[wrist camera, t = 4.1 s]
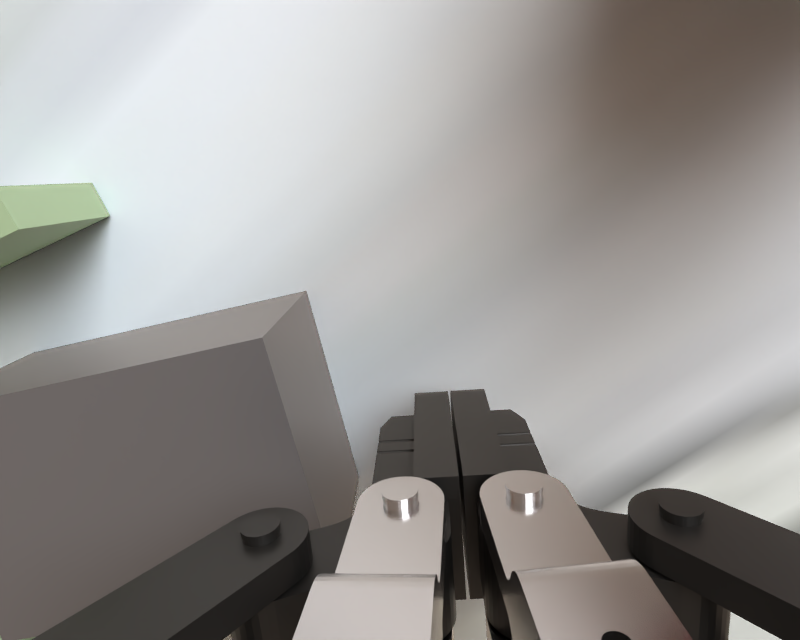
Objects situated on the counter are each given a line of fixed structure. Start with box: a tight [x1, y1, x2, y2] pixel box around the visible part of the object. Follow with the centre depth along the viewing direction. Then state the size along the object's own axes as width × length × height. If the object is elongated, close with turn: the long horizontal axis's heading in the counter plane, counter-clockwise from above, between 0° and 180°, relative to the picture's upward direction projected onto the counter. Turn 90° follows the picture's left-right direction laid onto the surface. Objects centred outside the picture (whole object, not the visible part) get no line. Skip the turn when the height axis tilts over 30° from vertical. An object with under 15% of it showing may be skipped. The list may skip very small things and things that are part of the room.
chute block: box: [0, 291, 359, 640], centre depth 12 cm, size 7×5×4 cm
